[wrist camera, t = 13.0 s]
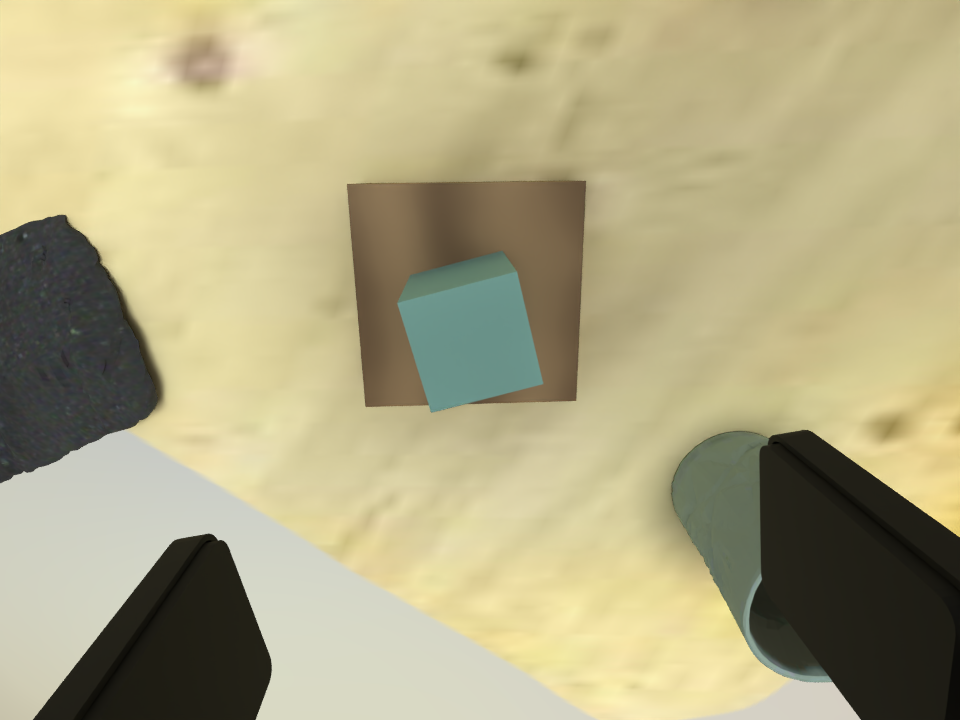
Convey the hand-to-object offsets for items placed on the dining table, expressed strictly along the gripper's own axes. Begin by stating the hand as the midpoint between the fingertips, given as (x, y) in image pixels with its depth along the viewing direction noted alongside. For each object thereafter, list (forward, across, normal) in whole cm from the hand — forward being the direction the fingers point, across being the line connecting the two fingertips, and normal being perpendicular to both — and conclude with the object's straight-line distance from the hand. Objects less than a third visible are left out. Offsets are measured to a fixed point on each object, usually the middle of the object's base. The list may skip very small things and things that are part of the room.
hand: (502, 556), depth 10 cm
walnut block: (+26, 0, 0) cm, 26 cm away
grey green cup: (+26, -16, +17) cm, 35 cm away
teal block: (+21, 0, 0) cm, 21 cm away
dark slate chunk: (+26, +31, 0) cm, 41 cm away
